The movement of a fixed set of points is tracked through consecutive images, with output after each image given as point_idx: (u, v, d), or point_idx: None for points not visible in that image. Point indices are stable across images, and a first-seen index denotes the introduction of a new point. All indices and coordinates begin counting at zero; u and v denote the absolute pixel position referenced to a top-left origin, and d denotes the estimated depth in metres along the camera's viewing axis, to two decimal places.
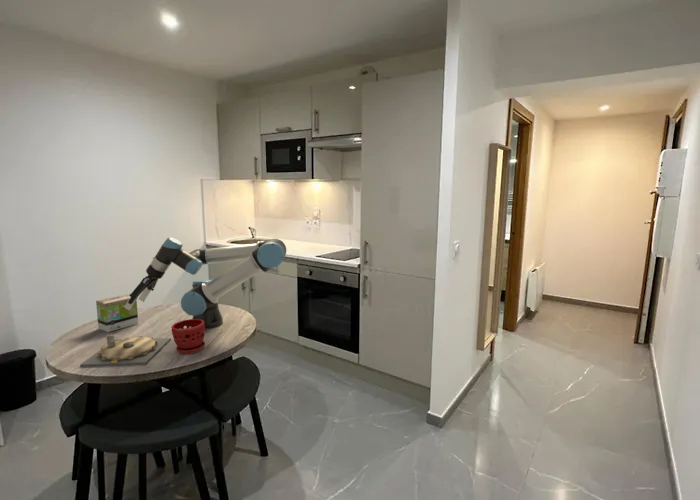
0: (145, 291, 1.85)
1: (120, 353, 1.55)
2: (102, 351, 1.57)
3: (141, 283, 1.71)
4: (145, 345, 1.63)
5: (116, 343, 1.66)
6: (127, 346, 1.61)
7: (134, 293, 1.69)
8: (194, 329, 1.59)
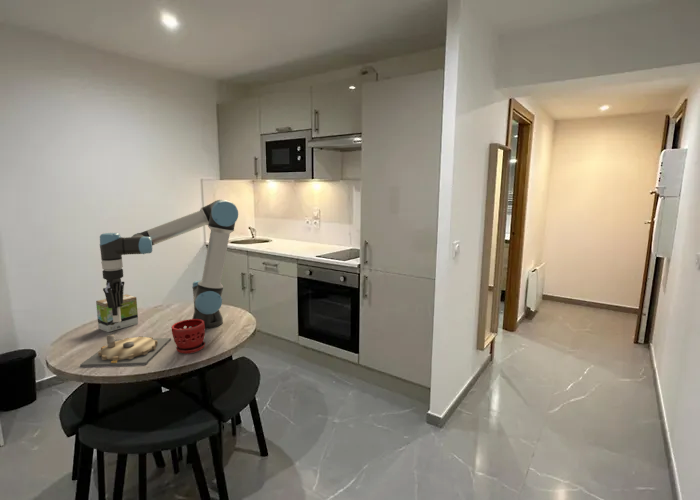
0: None
1: (120, 353, 1.55)
2: (102, 351, 1.57)
3: (106, 294, 1.60)
4: (145, 345, 1.63)
5: (116, 343, 1.66)
6: (127, 346, 1.61)
7: (110, 304, 1.62)
8: (194, 329, 1.59)
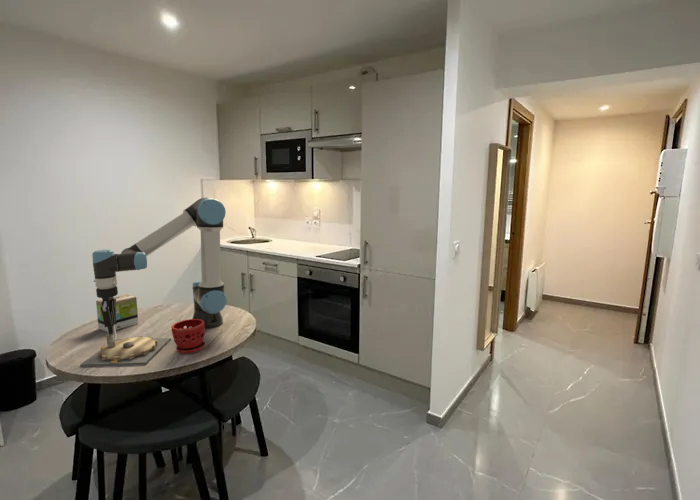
0: None
1: (121, 353, 1.55)
2: (102, 351, 1.57)
3: (103, 312, 1.56)
4: (145, 345, 1.63)
5: (116, 343, 1.66)
6: (127, 346, 1.61)
7: (107, 323, 1.58)
8: (194, 329, 1.59)
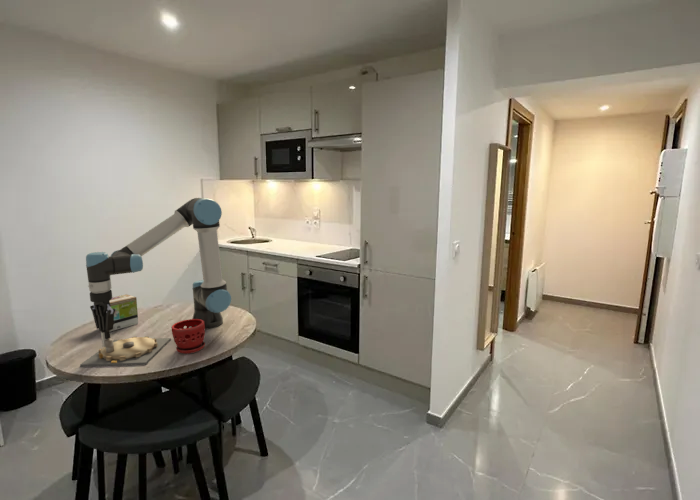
0: None
1: (136, 350, 1.58)
2: (110, 355, 1.53)
3: (109, 316, 1.53)
4: (145, 341, 1.68)
5: None
6: (131, 345, 1.62)
7: (110, 326, 1.55)
8: (194, 329, 1.59)
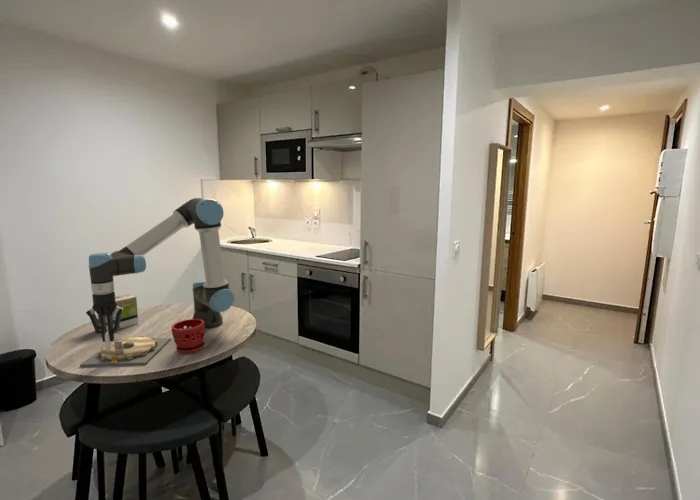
0: None
1: (146, 345, 1.63)
2: (129, 354, 1.55)
3: (120, 315, 1.53)
4: (136, 339, 1.69)
5: (109, 353, 1.55)
6: (133, 344, 1.63)
7: (118, 326, 1.54)
8: (194, 329, 1.59)
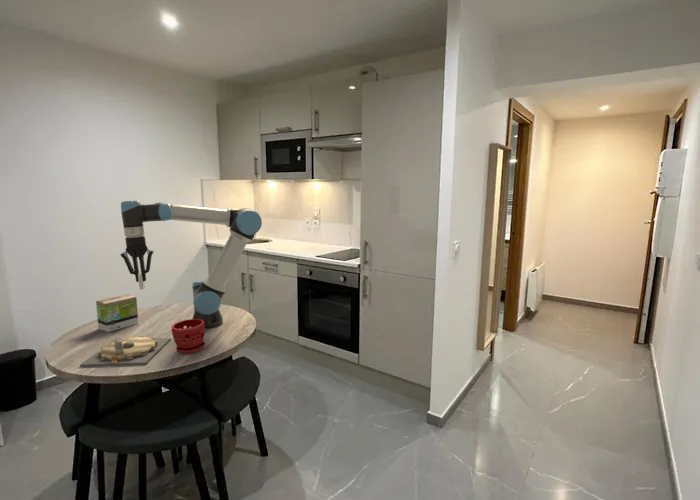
0: None
1: (146, 345, 1.63)
2: (129, 354, 1.55)
3: (150, 257, 1.69)
4: (136, 339, 1.69)
5: (109, 353, 1.55)
6: (133, 344, 1.63)
7: (149, 268, 1.70)
8: (194, 329, 1.59)
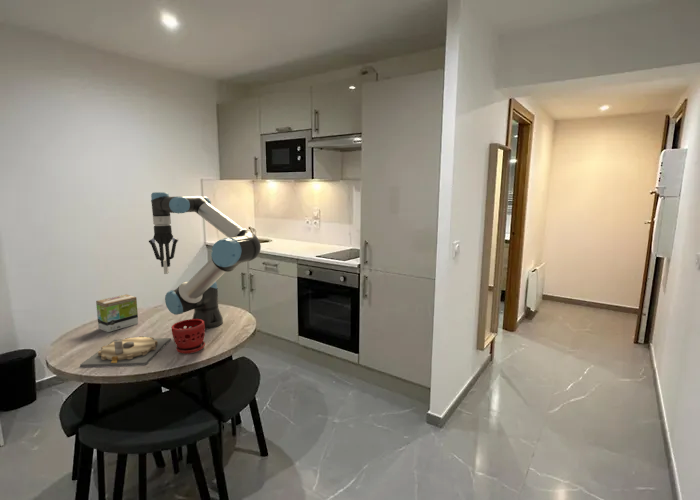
0: None
1: (146, 345, 1.63)
2: (129, 354, 1.55)
3: (175, 244, 1.84)
4: (136, 339, 1.69)
5: (109, 353, 1.55)
6: (133, 344, 1.63)
7: (173, 254, 1.85)
8: (194, 329, 1.59)
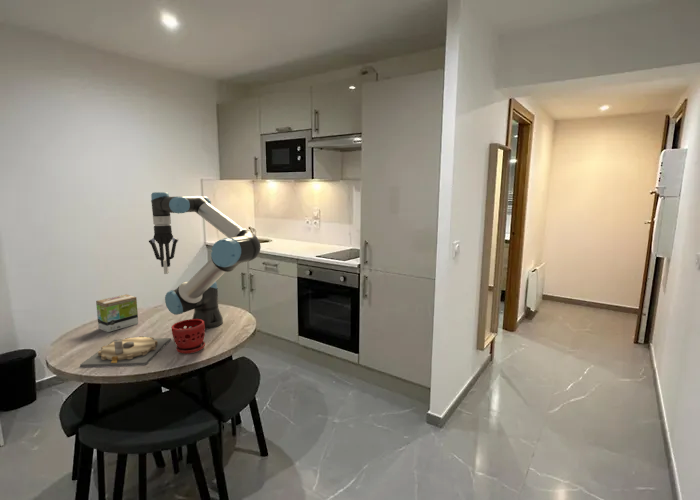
0: None
1: (146, 345, 1.63)
2: (129, 354, 1.55)
3: (175, 244, 1.84)
4: (136, 339, 1.69)
5: (109, 353, 1.55)
6: (133, 344, 1.63)
7: (173, 254, 1.85)
8: (194, 329, 1.59)
